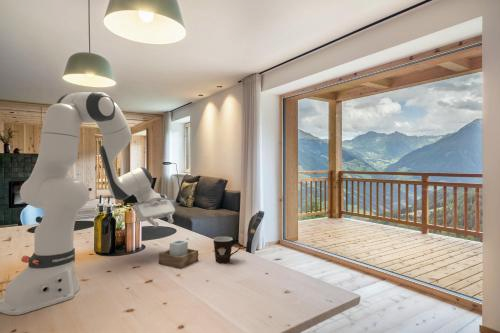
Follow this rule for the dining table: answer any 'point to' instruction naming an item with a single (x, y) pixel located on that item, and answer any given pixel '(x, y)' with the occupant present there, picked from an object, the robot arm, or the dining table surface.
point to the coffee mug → (223, 249)
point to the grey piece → (179, 248)
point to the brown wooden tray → (178, 259)
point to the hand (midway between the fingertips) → (164, 224)
